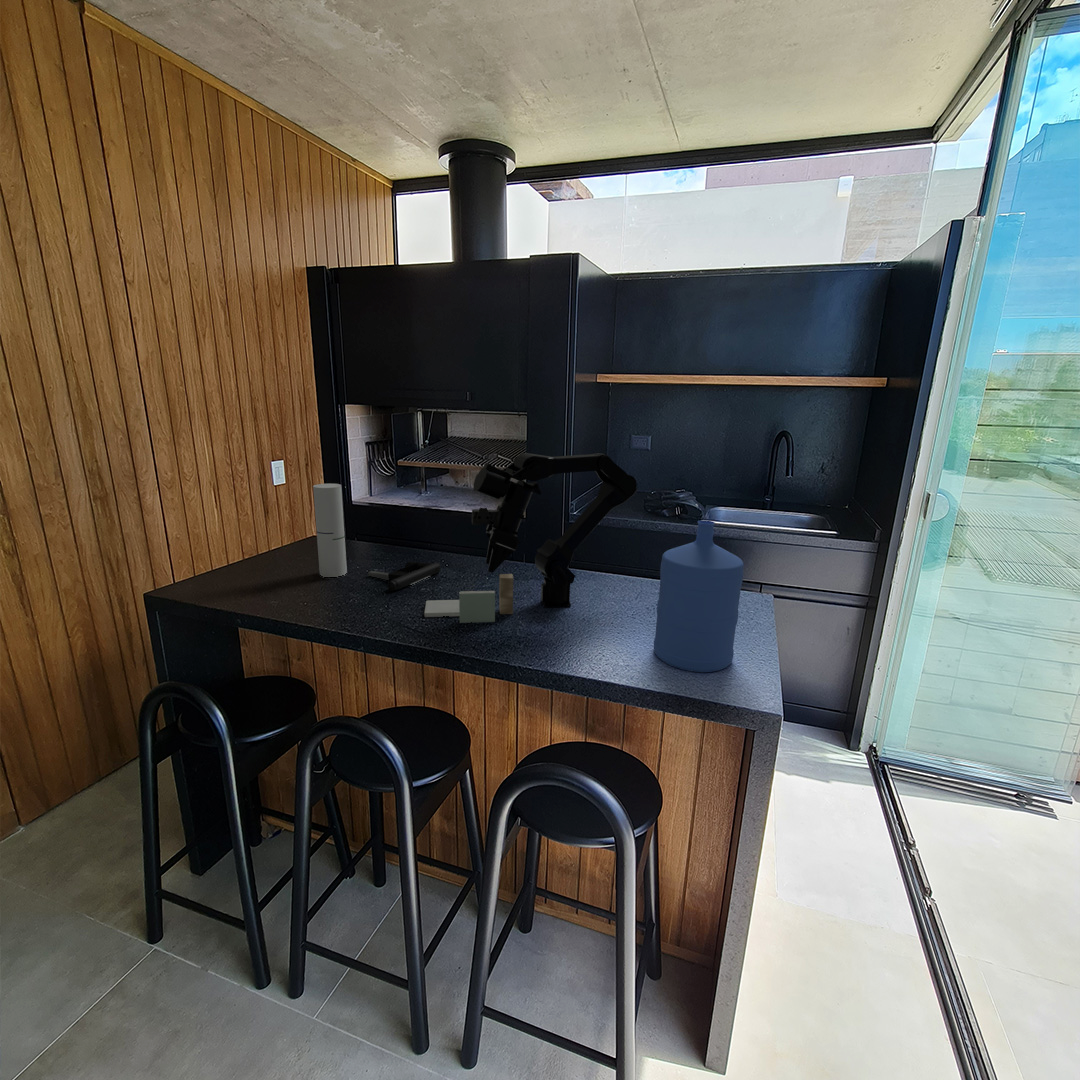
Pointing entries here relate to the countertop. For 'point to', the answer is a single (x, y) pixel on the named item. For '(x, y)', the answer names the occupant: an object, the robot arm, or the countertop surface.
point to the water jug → (698, 604)
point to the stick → (506, 594)
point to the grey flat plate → (442, 608)
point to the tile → (477, 606)
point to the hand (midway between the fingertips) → (488, 567)
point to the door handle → (407, 574)
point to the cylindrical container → (330, 529)
